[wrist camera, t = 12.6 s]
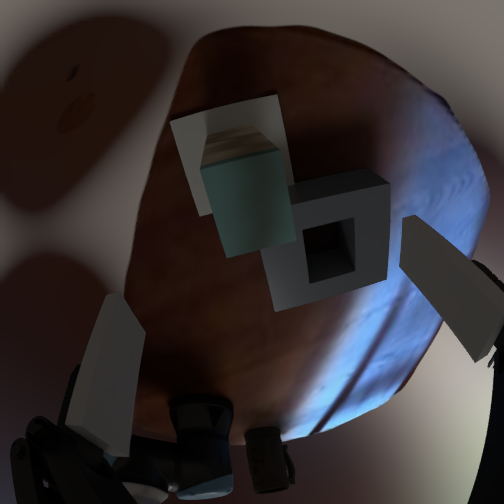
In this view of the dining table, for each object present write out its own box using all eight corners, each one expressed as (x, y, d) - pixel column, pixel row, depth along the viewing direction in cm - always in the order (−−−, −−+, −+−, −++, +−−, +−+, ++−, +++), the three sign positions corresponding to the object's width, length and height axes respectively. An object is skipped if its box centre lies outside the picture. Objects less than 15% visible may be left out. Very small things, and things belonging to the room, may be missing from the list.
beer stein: (235, 438, 72) (247, 496, 56) (252, 425, 67) (266, 489, 51) (278, 438, 78) (292, 490, 62) (296, 425, 73) (314, 481, 57)
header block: (267, 283, 41) (275, 311, 36) (245, 194, 34) (251, 215, 29) (368, 256, 41) (386, 279, 36) (366, 168, 34) (390, 183, 29)
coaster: (199, 214, 35) (199, 216, 34) (170, 121, 28) (169, 121, 28) (294, 190, 34) (296, 191, 34) (276, 94, 28) (277, 94, 28)
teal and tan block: (221, 188, 33) (226, 258, 20) (206, 135, 29) (199, 170, 16) (263, 177, 33) (296, 240, 20) (251, 124, 29) (280, 150, 16)
